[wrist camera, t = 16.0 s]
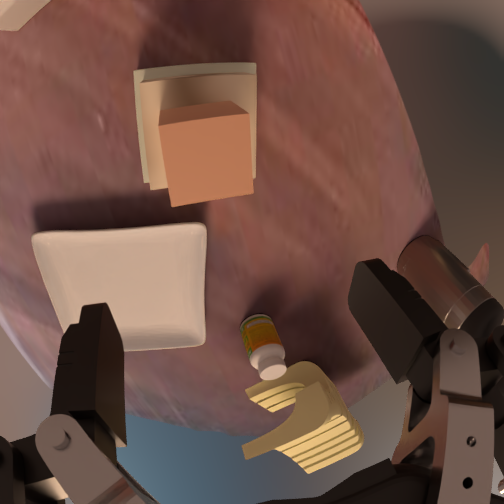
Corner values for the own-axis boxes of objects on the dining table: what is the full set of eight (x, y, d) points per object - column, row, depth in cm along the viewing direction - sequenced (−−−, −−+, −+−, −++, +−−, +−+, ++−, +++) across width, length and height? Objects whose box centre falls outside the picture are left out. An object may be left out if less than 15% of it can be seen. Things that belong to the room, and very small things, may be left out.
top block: (243, 72, 26) (256, 74, 22) (243, 161, 31) (255, 178, 27) (143, 79, 24) (139, 83, 20) (151, 171, 29) (150, 190, 25)
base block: (244, 62, 29) (256, 63, 25) (243, 157, 35) (254, 171, 32) (137, 69, 27) (133, 70, 23) (146, 167, 33) (144, 183, 29)
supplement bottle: (235, 320, 49) (251, 370, 42) (268, 308, 50) (288, 356, 42) (244, 339, 52) (259, 387, 45) (274, 329, 53) (293, 375, 45)
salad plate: (74, 338, 44) (72, 355, 41) (35, 220, 32) (27, 235, 29) (203, 330, 49) (206, 347, 47) (203, 207, 38) (207, 222, 35)
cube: (230, 100, 23) (249, 113, 18) (235, 164, 26) (253, 193, 21) (159, 110, 22) (158, 126, 17) (169, 175, 25) (171, 207, 20)
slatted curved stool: (340, 387, 74) (369, 444, 60) (285, 415, 75) (308, 473, 61) (296, 334, 56) (336, 419, 41) (222, 375, 57) (245, 460, 43)
